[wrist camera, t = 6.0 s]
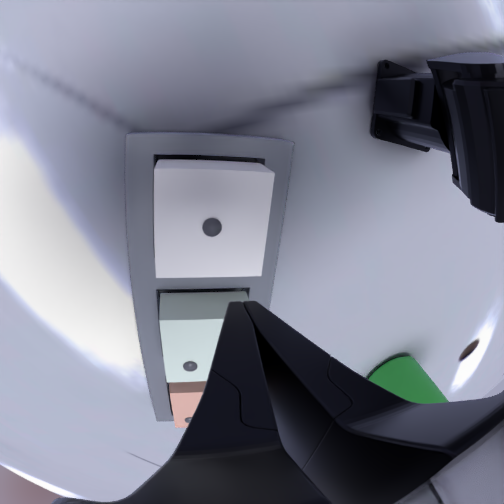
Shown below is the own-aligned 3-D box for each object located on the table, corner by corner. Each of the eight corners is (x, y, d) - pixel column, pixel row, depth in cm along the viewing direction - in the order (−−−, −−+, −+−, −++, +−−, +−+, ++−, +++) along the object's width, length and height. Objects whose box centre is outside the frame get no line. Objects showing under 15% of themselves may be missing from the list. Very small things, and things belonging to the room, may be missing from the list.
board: (283, 139, 19) (294, 142, 17) (246, 401, 31) (249, 415, 29) (131, 132, 17) (125, 134, 15) (156, 406, 28) (156, 421, 26)
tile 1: (260, 163, 17) (275, 173, 15) (249, 253, 20) (261, 277, 17) (158, 159, 16) (153, 168, 13) (158, 253, 18) (155, 279, 16)
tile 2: (245, 291, 21) (255, 317, 19) (239, 351, 24) (246, 378, 21) (160, 293, 20) (159, 321, 17) (165, 354, 22) (166, 383, 20)
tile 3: (233, 364, 26) (240, 389, 23) (230, 401, 29) (236, 424, 26) (168, 367, 25) (169, 394, 22) (173, 404, 27) (175, 428, 25)
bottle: (348, 398, 36) (428, 542, 14) (381, 353, 33) (488, 510, 11) (390, 391, 39) (468, 511, 17) (421, 350, 36) (518, 475, 14)
